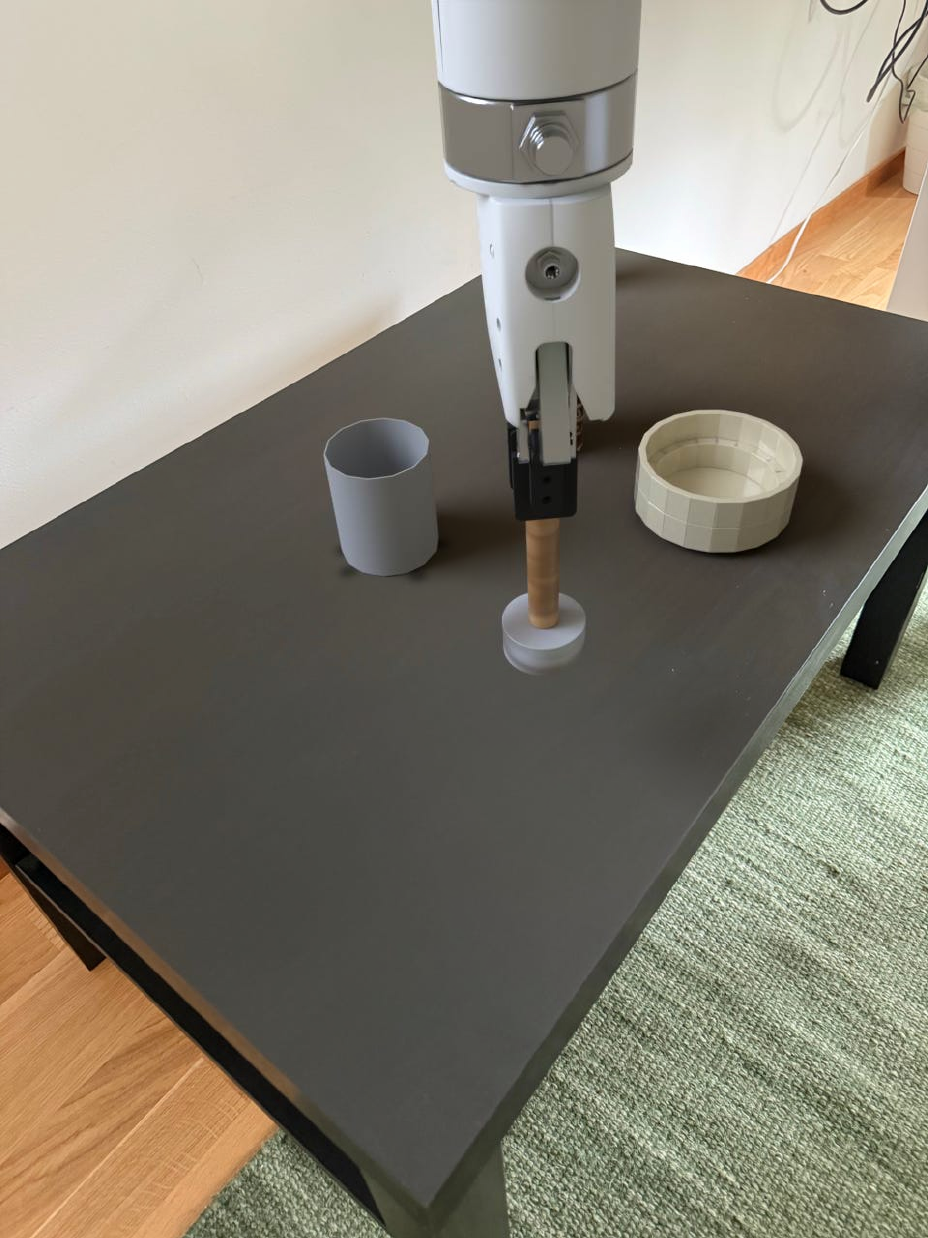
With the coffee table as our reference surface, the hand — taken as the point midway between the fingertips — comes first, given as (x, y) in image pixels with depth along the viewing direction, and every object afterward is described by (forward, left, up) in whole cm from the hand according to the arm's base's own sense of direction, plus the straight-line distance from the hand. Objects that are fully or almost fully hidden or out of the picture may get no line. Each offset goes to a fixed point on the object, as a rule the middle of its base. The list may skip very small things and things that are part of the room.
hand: (542, 498), depth 49 cm
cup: (+25, -2, -22) cm, 33 cm away
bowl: (+12, -27, -22) cm, 37 cm away
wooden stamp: (0, 0, -11) cm, 11 cm away
